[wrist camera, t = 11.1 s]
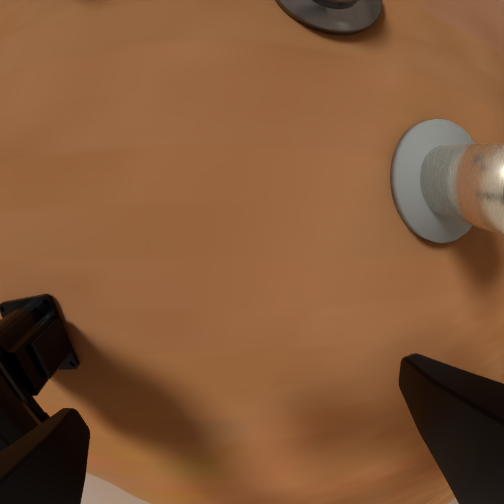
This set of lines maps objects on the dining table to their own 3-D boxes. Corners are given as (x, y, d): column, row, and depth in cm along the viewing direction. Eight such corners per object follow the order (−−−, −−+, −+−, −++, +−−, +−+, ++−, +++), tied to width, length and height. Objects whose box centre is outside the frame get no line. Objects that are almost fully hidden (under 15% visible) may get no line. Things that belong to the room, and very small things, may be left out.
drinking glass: (410, 202, 18) (510, 228, 9) (429, 131, 17) (529, 123, 8) (459, 227, 19) (549, 260, 10) (476, 163, 18) (567, 172, 9)
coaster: (395, 250, 20) (402, 253, 19) (381, 121, 18) (388, 119, 17) (479, 230, 20) (486, 232, 19) (470, 121, 18) (478, 121, 17)
